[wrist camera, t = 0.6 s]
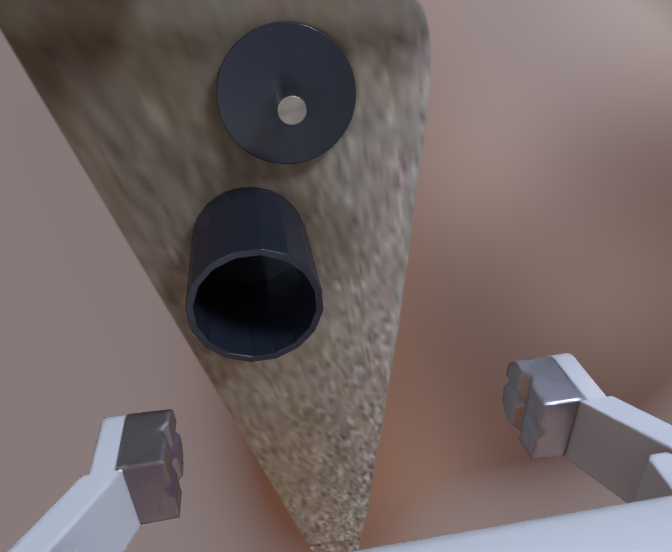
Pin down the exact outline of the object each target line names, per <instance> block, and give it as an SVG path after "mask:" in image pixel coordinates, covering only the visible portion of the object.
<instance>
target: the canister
mask: <svg viewBox="0 0 672 552" xmlns="http://www.w3.org/2000/svg"><path fill="white" fill-rule="evenodd" d="M185 308H186V312H187V316H188V321H189V325H190V328H191V330H192V331H193V332H194V334H195V335H196V336H197V337H198V338H199V340H200V341H201V342H202V343H203V345H204V346H205V347H207V348H209V349H211V350H213V351H214V352H216V353H218V354H220V355H222V356H224V357H226V358H231V359H237V360H243V361H249V362H254V361H260V360H267V359H274V358H278V357H280V356H282V355H284V354H286V353H288V352H290V351H292V350H294V349H296V348H298V347H299V346H300V345H301V344H302V343H303V342H304V341H305V340H306V339H307V338H308V337H309V336H310V335H311V334H312V333H313V332H314V331H315V329H316V327H317V324H318V322H319V319H320V317H321V314H322V312H323V301H322V289H321V285H320V281H319V277H318V274H317V270H316V266H315V262H314V258H313V255H312V251H311V247H310V243H309V240H308V236H307V232H306V228H305V225H304V223H303V221H302V219H301V217H300V215H299V213H298V212H297V210H296V209H295V207H294V206H293V205H292V204H291V203H290V202H289V201H287V200H286V199H285V198H283V197H282V196H280V195H278V194H276V193H274V192H272V191H269V190H266V189H261V188H252V187H249V188H239V189H234V190H231V191H227V192H225V193H223V194H221V195H219V196H217V197H216V198H214V199H213V200H212V201H211V202H209V203H208V204H207V205H206V206H205V207H204V209H203V210H202V212H201V213H200V215H199V217H198V218H197V221H196V224H195V227H194V232H193V236H192V244H191V254H190V264H189V274H188V284H187V295H186V305H185Z"/></svg>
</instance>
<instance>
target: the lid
mask: <svg viewBox="0 0 672 552" xmlns="http://www.w3.org/2000/svg"><path fill="white" fill-rule="evenodd" d="M355 101H356V88H355V80H354V76H353V72H352V69H351V66H350V64H349V62H348V60H347V58H346V56H345V55H344V53H343V52H342V50H341V49H340V48H339V47H338V46H337V45H336V43H335V42H334V41H333V40H332V39H330V38H329V37H328V36H327V35H326V34H324V33H322V32H321V31H319V30H317V29H315V28H313V27H311V26H308V25H305V24H301V23H296V22H275V23H270V24H266V25H263V26H260V27H258V28H256V29H254V30H252V31H250V32H249V33H247V34H246V35H244V36H243V37H242V38H241V39H240V40H239V41H237V42H236V44H235V45H234V46H233V47H232V48H231V50H230V51H229V53H228V54H227V56H226V57H225V59H224V61H223V64H222V66H221V69H220V72H219V76H218V81H217V104H218V109H219V113H220V116H221V119H222V121H223V124H224V125H225V127H226V129H227V131H228V132H229V134H230V135H231V137H232V138H233V139H234V140H235V141H236V142H237V144H238V145H240V146H241V147H242V148H243V149H244V150H246V151H247V152H249V153H250V154H252V155H253V156H256V157H258V158H260V159H262V160H265V161H268V162H273V163H279V164H294V163H300V162H304V161H308V160H311V159H313V158H315V157H318V156H319V155H321V154H323V153H324V152H326V151H327V150H328V149H330V148H331V147H332V146H333V145H334V144H335V143H336V142H337V141H338V140H339V139H340V138H341V136H342V135H343V134H344V132H345V130H346V129H347V127H348V125H349V123H350V120H351V118H352V115H353V111H354V107H355Z"/></svg>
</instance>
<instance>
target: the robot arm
mask: <svg viewBox="0 0 672 552" xmlns="http://www.w3.org/2000/svg"><path fill="white" fill-rule="evenodd" d="M506 374H507V376H508V377H509V379H510V382H509V383H508V384H507V385H506V386H505V387H504V391H503V404H504V409H505V413H506V415H507V418H508V420H509V421H510V423H511V425H512V426H514V427H516V428H517V429H519V430H521V433H520V438H519V439H520V441H521V443H522V444H523V446H524V448H525V450H526V451H527V453H528V454H529V456H530V458H531V460H536V459H544V458H551V457H559V456H565V458H567V459H568V460H569V461H571V462H572V463H573V464H575V465H576V466H577V467H579V468H580V469H582V470H583V471H585V472H586V473H587V474H588V475H590V476H591V477H593V478H594V479H595V480H596V481H598V482H599V483H601V484H602V485H603V486H605V487H606V488H607V489H609V490H610V491H611V492H613V493H614V494H616V495H617V496H618V497H620V498H621V499H622V500H624V501H625V502H626V503H625V504H620V505H613V506H608V507H602V508H596V509H591V510H585V511H579V512H573V513H568V514H562V515H556V516H551V517H545V518H539V519H534V520H528V521H523V522H517V523H512V524H505V525H500V526H494V527H488V528H483V529H477V530H472V531H465V532H460V533H454V534H448V535H443V536H437V537H431V538H426V539H420V540H414V541H409V542H403V543H397V544H392V545H387V546H381V547H374V548H369V549H364V550H357V551H352V552H672V425H670V424H668V423H666V422H664V421H662V420H660V419H658V418H656V417H653V416H652V415H650V414H648V413H646V412H643V411H641V410H639V409H637V408H635V407H633V406H631V405H629V404H627V403H625V402H623V401H621V400H619V399H617V398H615V397H613V396H610V397H606V396H605V394H604V393H603V392H602V391H601V390H600V388H599V387H598V386H597V385H596V383H595V382H594V381H593V380H592V378H591V377H590V376H589V375H588V374H587V372H586V371H585V370H584V369H583V367H582V366H581V365H580V364H579V363H578V361H577V360H576V359H575V358H574V356H573V355H571V354H569V353H564V354H558V355H551V356H548V357H539V358H532V359H526V360H519V361H512V362H510V364H509V365H508V367H507V373H506ZM175 430H176V418H175V415H174V411H173V410H172V409H169V410H160V411H151V412H143V413H135V414H128V415H122V416H112V417H105V418H104V419H103V421H102V422H101V426H100V430H99V434H98V438H97V442H96V446H95V450H94V454H93V458H92V462H91V466H90V470H89V474H88V475H84V476H81V477H80V478H79V479H78V480H77V481H76V482H75V483H74V484H73V485H72V486H71V487H70V488H69V489H68V490H67V491H66V492H65V493H64V494H63V495H62V496H61V498H59V499H58V500H57V502H55V504H54V505H53V506H52V507H51V508H50V509H49V510H48V511H47V512H46V513H45V514H44V515H43V516H42V517H41V518H40V519H39V520H38V521H37V522H36V523H35V524H34V525H33V526H32V527H31V528H30V529H29V530H28V531H27V532H26V533H25V534H24V535H23V536H22V537H21V538H20V539H19V540H18V541H17V542H16V543H15V544H14V545H13V546H12V547H11V548H10V549H9V550H8V551H7V552H125V550H126V549H127V547H128V546H129V544H130V543H131V541H132V540H133V538H134V537H135V535H136V533H137V532H138V530H139V529H140V528H141V524H147V523H152V522H157V521H163V520H168V519H172V518H178V517H180V507H181V494H182V491H181V487H180V484H179V480H180V478H181V477H182V476H183V449H182V442H181V438H180V435H179V434H178V433H176V432H175Z"/></svg>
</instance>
